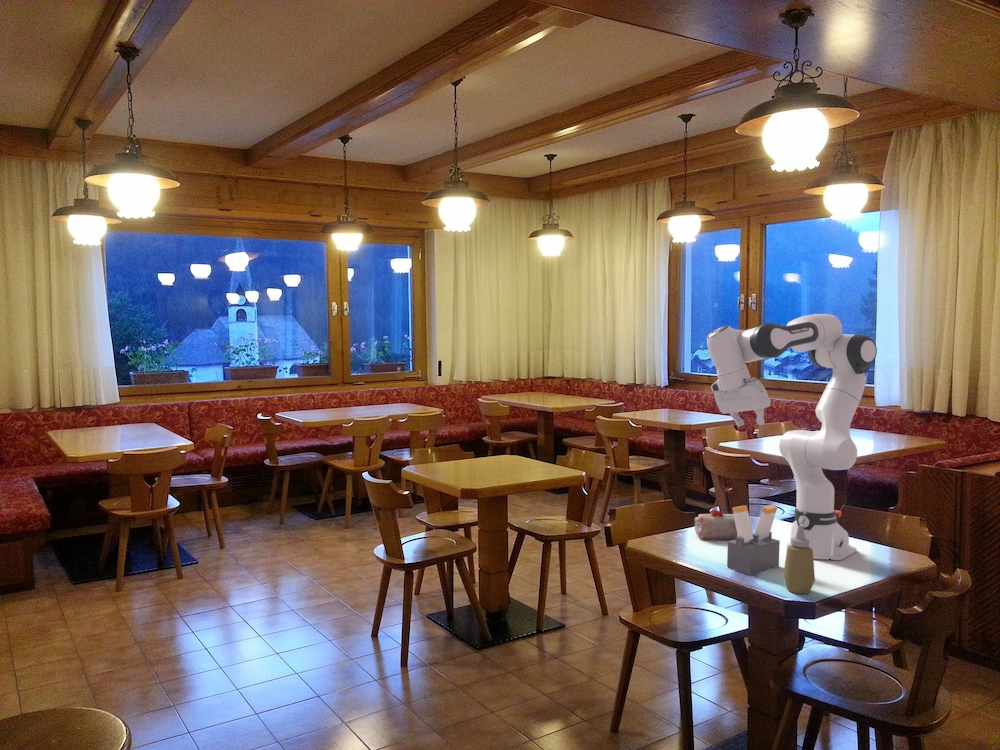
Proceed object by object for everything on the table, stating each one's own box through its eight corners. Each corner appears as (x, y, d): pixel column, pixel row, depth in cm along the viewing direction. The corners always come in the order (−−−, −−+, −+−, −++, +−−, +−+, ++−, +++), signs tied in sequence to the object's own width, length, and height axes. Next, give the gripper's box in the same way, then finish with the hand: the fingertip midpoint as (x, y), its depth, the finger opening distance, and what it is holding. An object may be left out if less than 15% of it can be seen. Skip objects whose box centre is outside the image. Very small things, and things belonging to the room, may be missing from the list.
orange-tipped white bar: (763, 533, 233) (772, 504, 230) (768, 536, 232) (777, 507, 229) (754, 536, 230) (762, 506, 228) (759, 539, 229) (767, 509, 226)
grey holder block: (756, 559, 237) (757, 528, 236) (778, 566, 230) (779, 533, 230) (727, 567, 229) (727, 534, 228) (749, 574, 222) (750, 541, 222)
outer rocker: (748, 539, 229) (741, 505, 231) (753, 538, 228) (746, 505, 229) (738, 541, 226) (732, 507, 228) (743, 541, 225) (736, 507, 227)
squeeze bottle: (819, 590, 209) (821, 526, 208) (807, 598, 204) (809, 531, 202) (789, 583, 215) (791, 520, 214) (778, 590, 209) (780, 526, 208)
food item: (698, 541, 257) (698, 512, 257) (693, 534, 265) (694, 506, 265) (739, 542, 257) (739, 513, 256) (733, 535, 264) (733, 507, 264)
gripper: (766, 373, 216) (782, 419, 216) (723, 380, 235) (738, 423, 235) (749, 380, 214) (765, 426, 214) (707, 387, 233) (722, 430, 233)
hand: (750, 424), depth 225 cm, fingers open, 8 cm apart
